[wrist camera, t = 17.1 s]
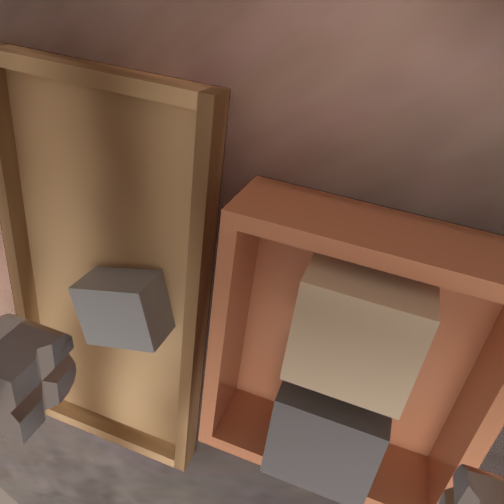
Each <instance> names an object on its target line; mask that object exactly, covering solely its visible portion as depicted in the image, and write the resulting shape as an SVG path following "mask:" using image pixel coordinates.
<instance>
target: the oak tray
mask: <svg viewBox="0 0 504 504" xmlns="http://www.w3.org/2000/svg"><path fill="white" fill-rule="evenodd" d="M229 96H230V89H227V88H222V87H218V86H213V85H208V84H203V83H198V82H193V81H188V80H183V79H178V78H173V77H168V76H164V75H159V74H154V73H149V72H144V71H139V70H134V69H129V68H124V67H119V66H115V65H110V64H105V63H100V62H95V61H90V60H85V59H80V58H75V57H70V56H65V55H61V54H56V53H51V52H46V51H41V50H36V49H31V48H26V47H21V46H16V45H12V44H7V43H2V42H0V224H1V229H2V235H3V241H4V247H5V253H6V259H7V265H8V271H9V277H10V283H11V289H12V295H13V301H14V307H15V313H16V316H19V317H21V318H24V319H27V320H31V321H33V322H36V323H39V324H42V325H44V326H47V327H50V328H53V329H55V330H58V331H61V332H64V333H66V334H69V335H71V336H72V338H73V344H74V348H73V349H72V351H71V352H70V353H69V354H70V356H71V357H72V359H73V360H74V361H75V363H76V376H75V381H74V383H73V385H72V387H71V389H70V391H69V393H68V395H67V396H66V397H65V398H64V399H63V401H62V402H61V403H60V404H59V405H56V406H54V407H52V408H49V409H47V410H46V415H48V416H51V417H53V418H55V419H58V420H60V421H63V422H65V423H67V424H70V425H72V426H75V427H77V428H80V429H82V430H84V431H87V432H89V433H92V434H94V435H96V436H99V437H101V438H104V439H106V440H109V441H111V442H113V443H116V444H118V445H121V446H123V447H125V448H128V449H130V450H133V451H135V452H138V453H140V454H142V455H145V456H147V457H150V458H152V459H154V460H157V461H159V462H162V463H164V464H166V465H169V466H171V467H174V468H176V469H179V470H181V471H183V472H184V471H185V469H186V467H187V465H188V463H189V461H190V460H191V458H192V456H193V454H194V452H195V446H196V436H197V426H198V415H199V405H200V395H201V384H202V374H203V364H204V354H205V343H206V333H207V323H208V312H209V302H210V292H211V281H212V271H213V261H214V251H215V240H216V230H217V220H218V209H219V199H220V189H221V178H222V168H223V158H224V148H225V137H226V127H227V117H228V106H229ZM96 266H98V267H115V268H132V269H149V270H163V274H164V278H165V282H166V287H167V291H168V295H169V299H170V304H171V308H172V312H173V317H174V321H175V325H176V327H175V328H174V329H173V330H172V332H171V333H170V334H169V335H168V337H167V338H166V339H165V340H164V342H163V343H162V344H161V345H160V347H159V348H158V349H157V350H156V352H155V353H151V352H143V351H135V350H128V349H120V348H112V347H105V346H97V345H89V344H87V343H86V340H85V337H84V334H83V331H82V328H81V325H80V322H79V319H78V316H77V314H76V311H75V308H74V305H73V302H72V299H71V296H70V293H69V290H68V288H69V287H70V286H71V285H72V284H74V283H75V282H76V281H78V280H79V279H80V278H82V277H83V276H84V275H85V274H87V273H88V272H89V271H91V270H92V269H93V268H94V267H96Z"/></svg>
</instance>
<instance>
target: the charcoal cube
mask: <svg viewBox="0 0 504 504" xmlns="http://www.w3.org/2000/svg"><path fill="white" fill-rule="evenodd" d="M391 425H392V418H391V417H388V416H385V415H382V414H379V413H376V412H373V411H370V410H368V409H365V408H362V407H359V406H356V405H353V404H350V403H347V402H345V401H342V400H339V399H336V398H333V397H330V396H327V395H324V394H321V393H319V392H316V391H313V390H310V389H307V388H304V387H301V386H298V385H295V384H293V383H290V382H287V381H284V380H283V381H282V384H281V386H280V388H279V391H278V393H277V396H276V398H275V401H274V406H273V411H272V416H271V420H270V425H269V430H268V435H267V440H266V444H265V449H264V454H263V459H262V463H261V468H260V472H262V473H265V474H268V475H270V476H273V477H275V478H278V479H280V480H283V481H285V482H288V483H290V484H293V485H295V486H298V487H300V488H303V489H306V490H308V491H311V492H313V493H316V494H318V495H321V496H323V497H326V498H328V499H331V500H333V501H336V502H338V503H341V504H364V503H365V500H366V498H367V495H368V493H369V490H370V488H371V486H372V483H373V481H374V478H375V476H376V474H377V471H378V469H379V466H380V464H381V462H382V459H383V457H384V454H385V452H386V449H387V447H388V445H389V442H390V435H391Z"/></svg>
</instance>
